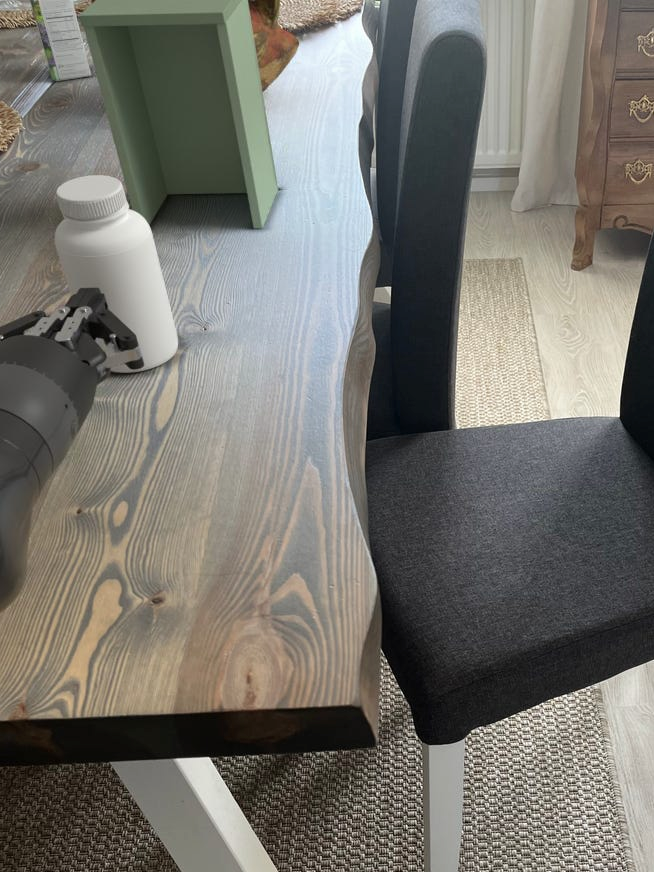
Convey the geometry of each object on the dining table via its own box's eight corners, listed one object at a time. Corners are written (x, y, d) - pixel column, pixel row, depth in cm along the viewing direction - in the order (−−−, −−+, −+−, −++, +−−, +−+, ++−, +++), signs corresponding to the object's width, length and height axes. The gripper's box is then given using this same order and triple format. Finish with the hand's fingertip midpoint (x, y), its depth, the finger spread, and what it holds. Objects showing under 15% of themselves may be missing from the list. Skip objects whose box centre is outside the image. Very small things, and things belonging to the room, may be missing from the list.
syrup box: (49, 71, 154) (16, -41, 143) (89, 66, 155) (59, -46, 145) (53, 82, 150) (19, -33, 140) (94, 76, 151) (63, -38, 141)
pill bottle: (137, 384, 89) (85, 213, 78) (73, 361, 92) (16, 194, 81) (199, 344, 93) (158, 178, 83) (137, 324, 96) (90, 161, 86)
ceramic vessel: (116, 97, 144) (60, -119, 127) (294, 75, 150) (264, -135, 132) (125, 136, 133) (65, -95, 115) (317, 111, 138) (289, -114, 120)
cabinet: (261, 230, 111) (223, 12, 96) (136, 232, 111) (78, 15, 96) (279, 187, 119) (245, -19, 104) (162, 189, 120) (112, -16, 105)
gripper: (99, 364, 68) (161, 252, 80) (-94, 367, 68) (-2, 255, 80) (129, 457, 73) (183, 339, 85) (-50, 459, 73) (30, 341, 86)
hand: (93, 298), depth 83 cm, fingers closed
